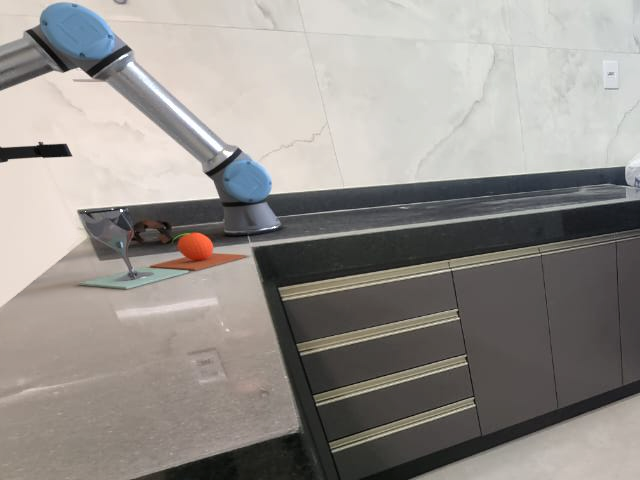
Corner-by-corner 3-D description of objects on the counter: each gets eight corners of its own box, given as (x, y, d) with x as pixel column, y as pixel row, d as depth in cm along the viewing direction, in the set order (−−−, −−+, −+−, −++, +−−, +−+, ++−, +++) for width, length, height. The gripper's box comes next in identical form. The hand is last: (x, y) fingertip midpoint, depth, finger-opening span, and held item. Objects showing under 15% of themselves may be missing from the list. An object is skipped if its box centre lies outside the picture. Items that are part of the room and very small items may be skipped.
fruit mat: (203, 254, 143) (202, 252, 143) (246, 256, 138) (245, 255, 138) (150, 267, 132) (149, 265, 132) (195, 270, 127) (194, 268, 127)
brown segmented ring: (159, 247, 156) (131, 225, 152) (143, 261, 159) (114, 239, 155) (188, 228, 165) (162, 207, 161) (172, 241, 169) (146, 221, 164)
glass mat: (143, 269, 130) (142, 267, 130) (188, 272, 126) (187, 270, 126) (80, 285, 119) (79, 282, 119) (126, 289, 115) (125, 287, 114)
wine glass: (150, 270, 127) (121, 206, 121) (161, 274, 123) (131, 208, 117) (107, 278, 122) (74, 212, 115) (116, 283, 117) (83, 214, 111)
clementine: (179, 265, 130) (167, 237, 127) (178, 261, 135) (166, 233, 132) (219, 259, 135) (208, 231, 132) (216, 254, 139) (205, 227, 136)
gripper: (20, 168, 126) (101, 165, 124) (-123, 182, 104) (-27, 178, 102) (2, 134, 123) (85, 130, 121) (-149, 141, 100) (-51, 136, 99)
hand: (34, 152), depth 111 cm, fingers open, 13 cm apart
